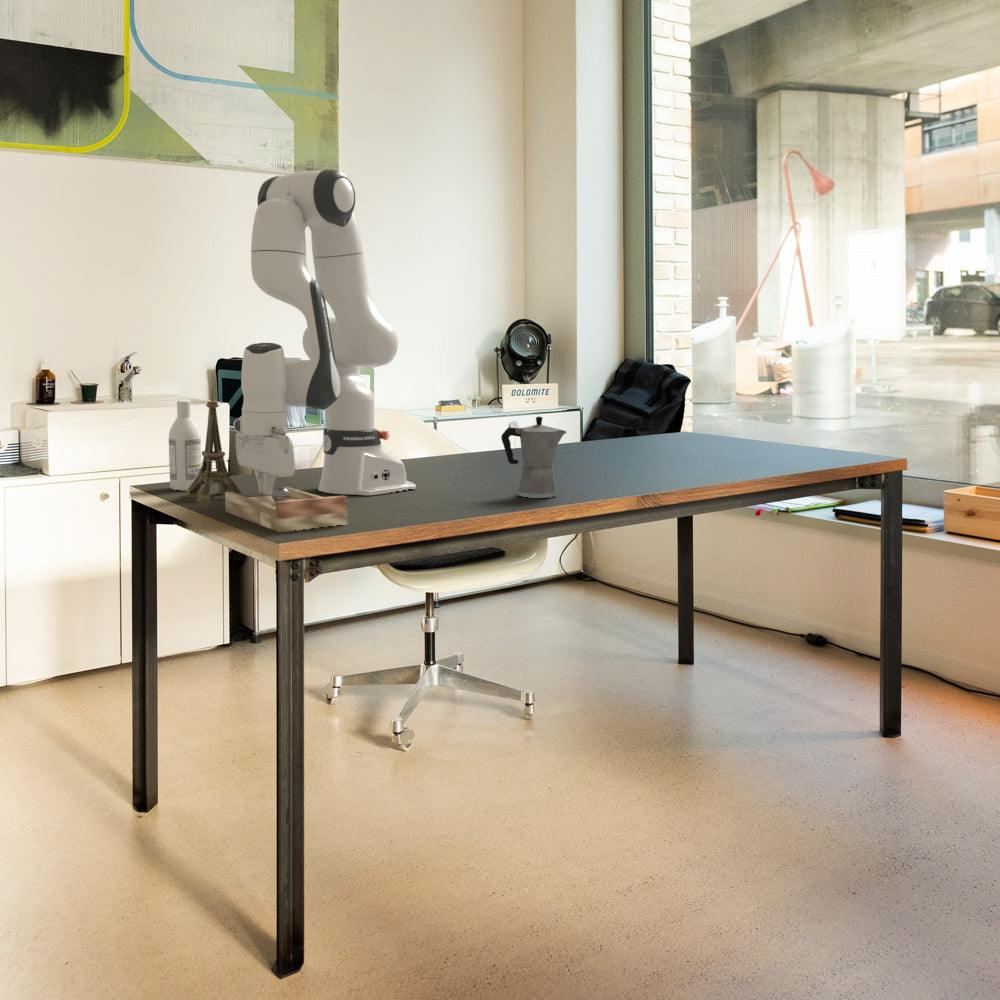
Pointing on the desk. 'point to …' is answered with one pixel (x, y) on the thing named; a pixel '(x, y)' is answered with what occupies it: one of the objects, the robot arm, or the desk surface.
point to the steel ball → (280, 494)
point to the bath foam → (184, 449)
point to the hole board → (289, 510)
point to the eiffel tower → (209, 455)
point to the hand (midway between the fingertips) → (265, 493)
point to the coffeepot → (535, 456)
